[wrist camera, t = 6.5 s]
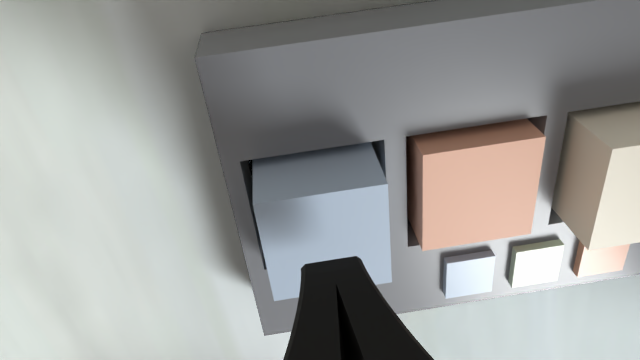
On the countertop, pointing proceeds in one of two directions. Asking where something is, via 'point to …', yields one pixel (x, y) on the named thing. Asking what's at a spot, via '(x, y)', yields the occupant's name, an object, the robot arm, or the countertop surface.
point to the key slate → (321, 213)
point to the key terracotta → (473, 183)
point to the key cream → (601, 176)
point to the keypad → (424, 122)
